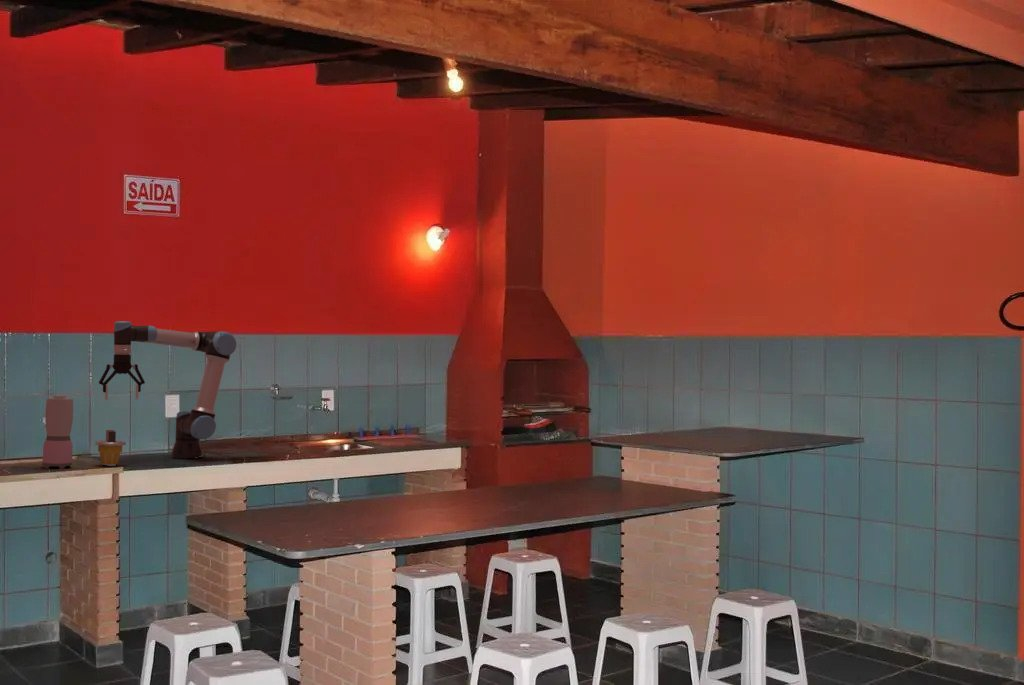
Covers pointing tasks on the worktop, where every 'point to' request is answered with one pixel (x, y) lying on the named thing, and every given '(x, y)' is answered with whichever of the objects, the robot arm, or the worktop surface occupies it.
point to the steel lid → (110, 439)
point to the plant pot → (109, 454)
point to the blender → (58, 432)
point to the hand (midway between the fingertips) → (121, 399)
